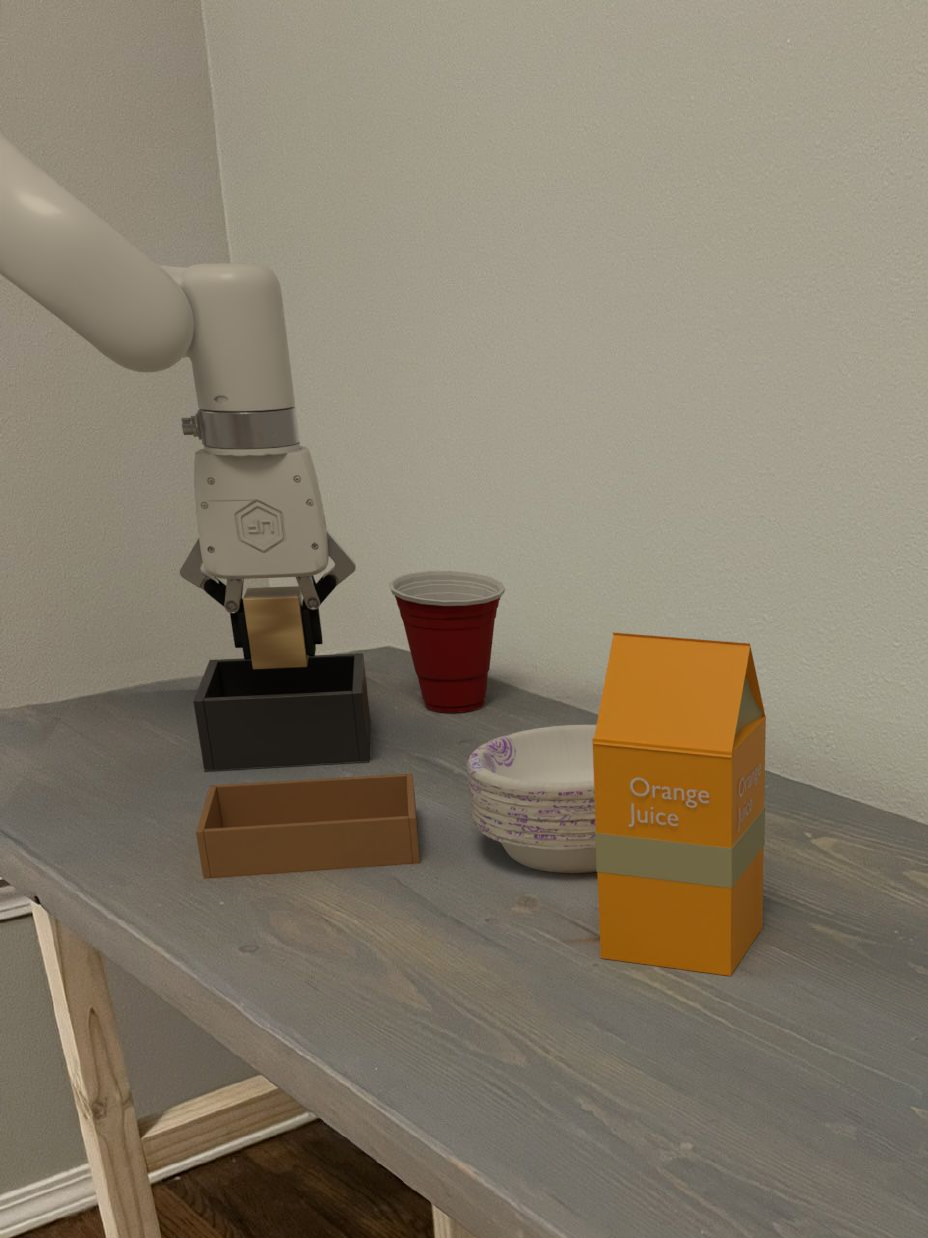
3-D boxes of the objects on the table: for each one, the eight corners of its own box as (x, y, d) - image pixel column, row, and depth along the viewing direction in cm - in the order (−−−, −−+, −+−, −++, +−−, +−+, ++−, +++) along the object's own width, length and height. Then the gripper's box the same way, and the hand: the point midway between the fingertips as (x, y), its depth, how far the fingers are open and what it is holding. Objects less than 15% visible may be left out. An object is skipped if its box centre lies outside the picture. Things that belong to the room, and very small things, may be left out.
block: (252, 669, 126) (242, 599, 124) (256, 656, 130) (246, 587, 128) (307, 667, 127) (298, 597, 125) (309, 654, 131) (300, 585, 129)
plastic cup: (451, 728, 138) (440, 598, 133) (377, 707, 144) (364, 582, 139) (535, 703, 146) (528, 580, 140) (461, 684, 152) (452, 565, 146)
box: (204, 884, 105) (195, 831, 103) (217, 834, 113) (209, 785, 111) (420, 869, 107) (415, 817, 106) (417, 821, 116) (412, 773, 114)
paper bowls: (460, 828, 115) (452, 729, 111) (649, 809, 119) (647, 713, 115) (491, 903, 102) (483, 794, 98) (703, 879, 106) (702, 774, 103)
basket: (205, 777, 125) (192, 700, 122) (220, 730, 137) (209, 659, 134) (370, 767, 128) (361, 692, 125) (370, 722, 140) (363, 652, 137)
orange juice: (730, 977, 92) (733, 659, 83) (598, 958, 94) (586, 647, 85) (764, 927, 99) (769, 628, 90) (639, 911, 101) (632, 617, 92)
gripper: (134, 439, 115) (173, 670, 124) (356, 435, 119) (380, 660, 127) (147, 428, 122) (183, 648, 130) (357, 424, 125) (380, 639, 133)
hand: (280, 652), depth 128 cm, fingers closed on block, 4 cm apart
